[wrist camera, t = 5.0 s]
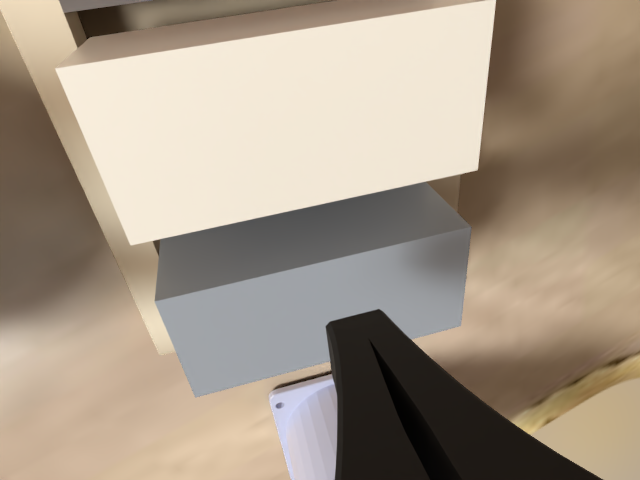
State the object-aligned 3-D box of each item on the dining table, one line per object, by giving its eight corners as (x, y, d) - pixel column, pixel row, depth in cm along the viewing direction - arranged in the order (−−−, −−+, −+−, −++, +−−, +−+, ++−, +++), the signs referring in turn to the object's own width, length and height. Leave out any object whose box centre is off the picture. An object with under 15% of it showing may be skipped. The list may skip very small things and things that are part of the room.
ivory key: (420, 126, 16) (477, 169, 13) (143, 180, 15) (130, 245, 12) (423, -14, 14) (496, -2, 11) (90, 37, 12) (54, 68, 9)
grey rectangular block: (416, 265, 20) (461, 325, 17) (194, 319, 19) (195, 397, 15) (418, 175, 17) (471, 226, 14) (161, 230, 16) (154, 301, 13)
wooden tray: (437, 264, 23) (451, 281, 22) (161, 332, 21) (159, 355, 20) (478, -420, 11) (515, -468, 10) (-166, -413, 9) (-222, -472, 8)
